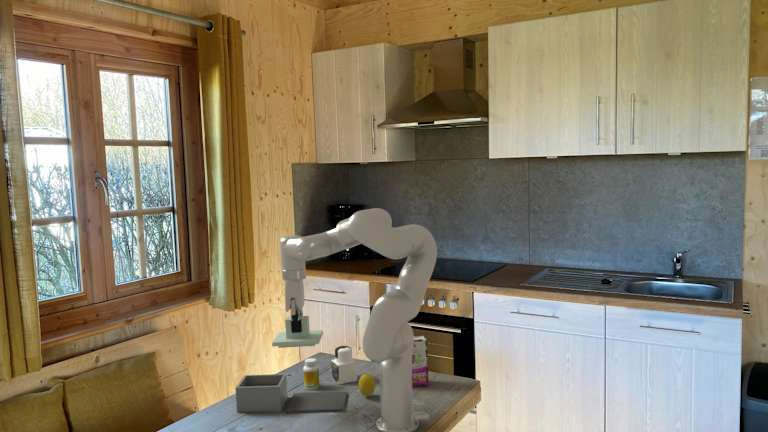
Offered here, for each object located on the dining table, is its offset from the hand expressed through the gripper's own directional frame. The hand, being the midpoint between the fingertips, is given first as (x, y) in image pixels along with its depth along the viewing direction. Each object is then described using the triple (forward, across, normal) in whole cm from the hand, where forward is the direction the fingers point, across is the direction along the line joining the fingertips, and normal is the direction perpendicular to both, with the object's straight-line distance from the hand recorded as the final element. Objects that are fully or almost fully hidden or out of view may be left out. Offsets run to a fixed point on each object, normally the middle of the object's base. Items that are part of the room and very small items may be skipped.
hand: (297, 329), depth 186 cm
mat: (+25, 0, +5) cm, 25 cm away
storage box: (+24, -1, -13) cm, 28 cm away
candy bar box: (+25, -14, +36) cm, 46 cm away
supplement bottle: (+25, -14, +1) cm, 29 cm away
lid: (+3, 0, 0) cm, 3 cm away
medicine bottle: (+25, -20, +12) cm, 34 cm away
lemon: (+25, -4, +21) cm, 33 cm away
